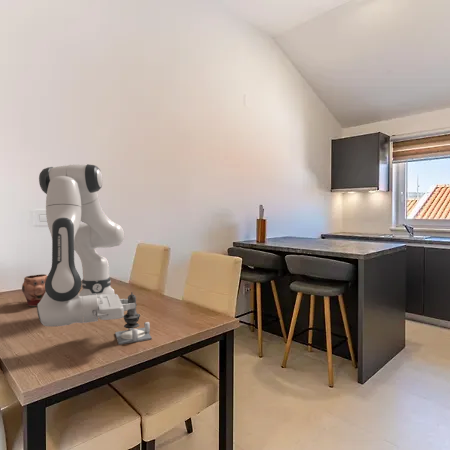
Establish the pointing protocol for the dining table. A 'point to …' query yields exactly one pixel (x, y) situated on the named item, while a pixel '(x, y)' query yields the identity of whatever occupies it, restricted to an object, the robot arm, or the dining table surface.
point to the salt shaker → (131, 314)
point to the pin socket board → (123, 341)
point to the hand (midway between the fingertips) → (134, 303)
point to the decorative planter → (34, 288)
